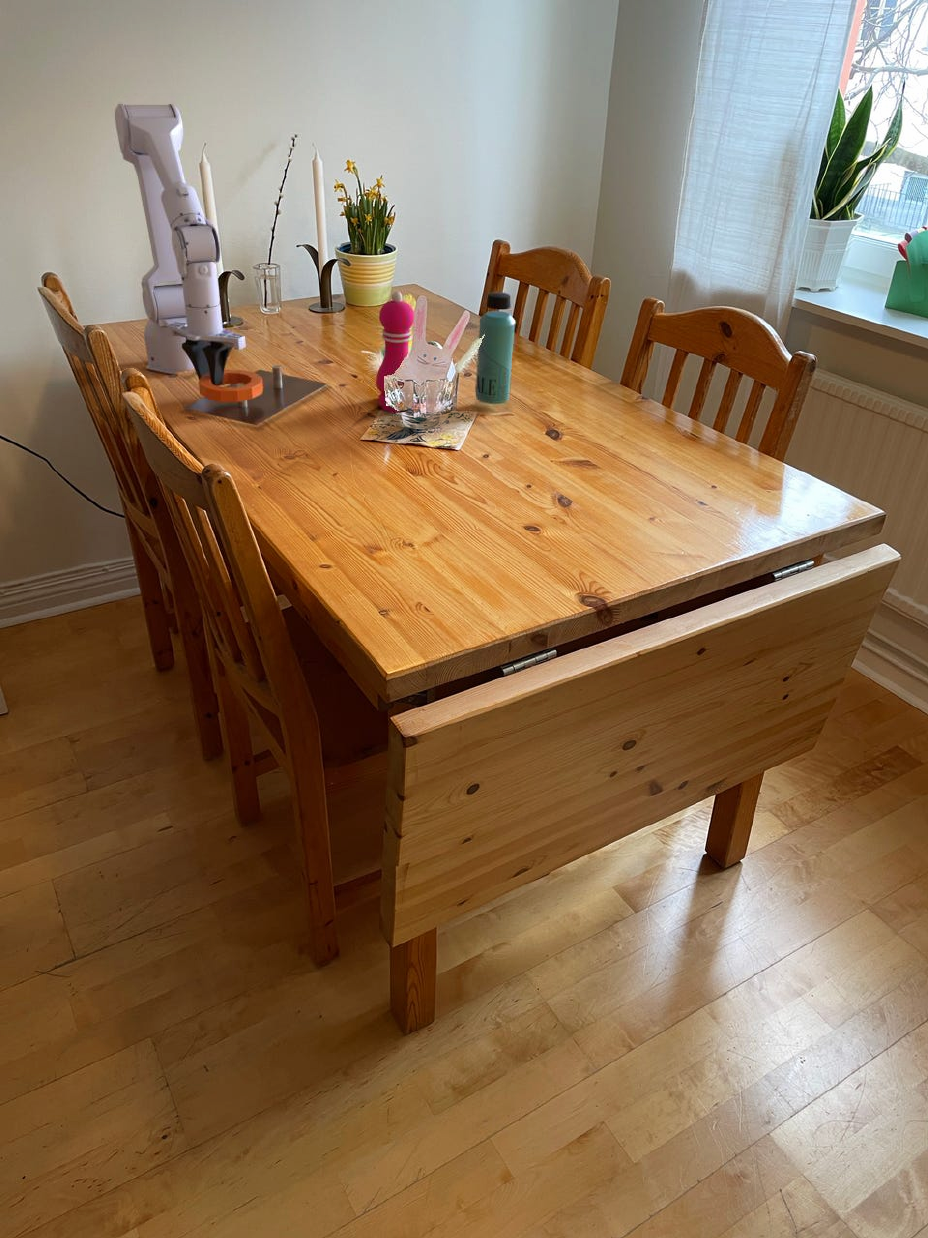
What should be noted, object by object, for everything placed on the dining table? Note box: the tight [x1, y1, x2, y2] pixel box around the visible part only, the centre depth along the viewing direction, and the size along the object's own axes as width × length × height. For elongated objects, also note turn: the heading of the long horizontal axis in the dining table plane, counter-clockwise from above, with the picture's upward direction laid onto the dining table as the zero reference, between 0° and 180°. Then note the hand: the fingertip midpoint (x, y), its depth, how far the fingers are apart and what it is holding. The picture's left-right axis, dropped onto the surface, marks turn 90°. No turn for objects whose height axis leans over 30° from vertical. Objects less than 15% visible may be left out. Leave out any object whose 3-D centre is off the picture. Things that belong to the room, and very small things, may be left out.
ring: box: [198, 369, 263, 402], centre depth 154 cm, size 10×10×2 cm
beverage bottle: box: [474, 291, 516, 405], centre depth 157 cm, size 6×7×20 cm
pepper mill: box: [375, 290, 415, 413], centre depth 155 cm, size 7×7×20 cm
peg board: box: [183, 364, 328, 426], centre depth 158 cm, size 15×23×4 cm, turn 157°
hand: (211, 383), depth 155 cm, fingers closed on ring, 2 cm apart
